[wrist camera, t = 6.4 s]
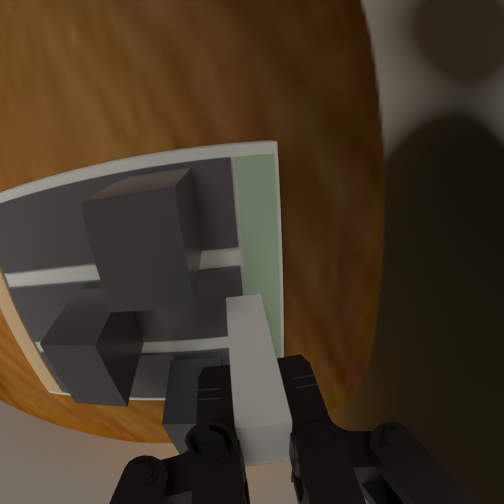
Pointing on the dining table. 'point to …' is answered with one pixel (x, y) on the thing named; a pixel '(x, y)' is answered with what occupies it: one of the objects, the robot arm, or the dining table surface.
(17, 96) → the dining table surface
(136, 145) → the dining table surface
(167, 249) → the block
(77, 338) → the block
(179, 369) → the breaker far
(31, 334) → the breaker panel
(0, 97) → the dining table surface
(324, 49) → the dining table surface
